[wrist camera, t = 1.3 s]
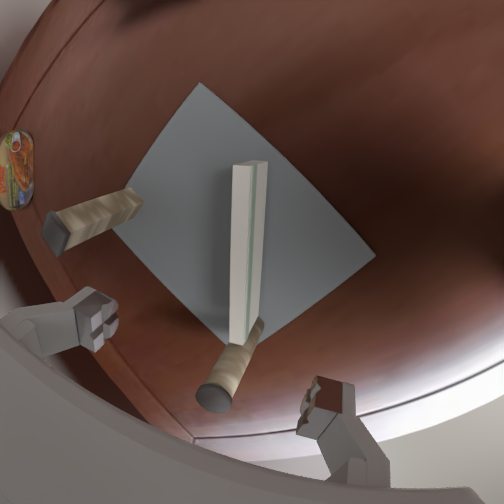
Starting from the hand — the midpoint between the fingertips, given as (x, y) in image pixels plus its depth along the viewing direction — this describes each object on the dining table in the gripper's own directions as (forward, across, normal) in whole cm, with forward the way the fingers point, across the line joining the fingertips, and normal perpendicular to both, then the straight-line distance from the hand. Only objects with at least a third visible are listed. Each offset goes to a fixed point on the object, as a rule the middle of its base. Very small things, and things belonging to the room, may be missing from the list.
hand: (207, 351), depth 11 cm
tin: (+27, +48, +5) cm, 55 cm away
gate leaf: (+24, +2, +5) cm, 24 cm away
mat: (+25, +7, +6) cm, 27 cm away
